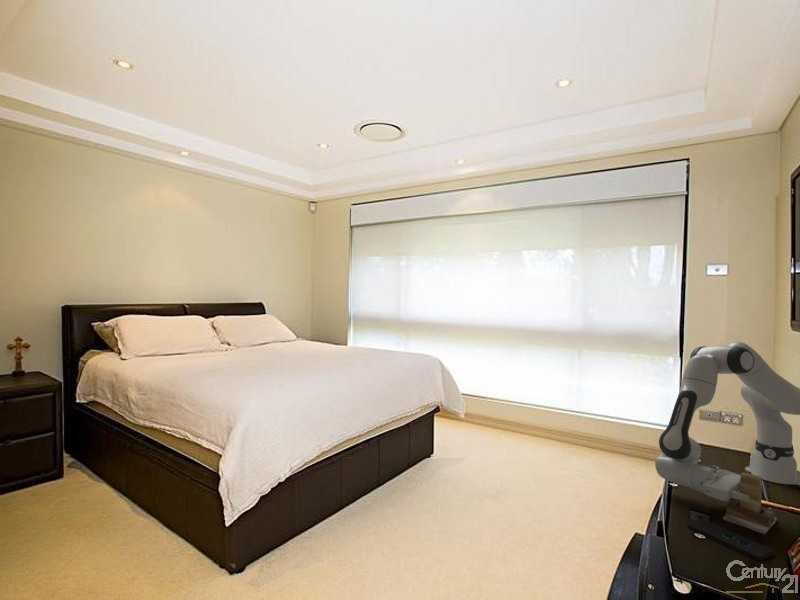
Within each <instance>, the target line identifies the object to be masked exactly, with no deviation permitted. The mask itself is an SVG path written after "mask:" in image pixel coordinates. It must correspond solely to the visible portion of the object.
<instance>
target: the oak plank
mask: <svg viewBox="0 0 800 600" xmlns="http://www.w3.org/2000/svg"><path fill="white" fill-rule="evenodd" d="M739 475H740V491H739V493H742V494H743V493H745V494H748V495H750V500H749V501H745V500H740V499H739V501H740V508H743V509H746V510H749V511H752V512H755V513H758V514H761V507H762V487H763V486H762V485H763V484H762V482H763V481H762V480H763V479H762V477H760V476H756V475H753V474H752V473H750V472H744V471H743V472H741V473H740V474H739Z"/></svg>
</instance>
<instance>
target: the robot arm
mask: <svg viewBox="0 0 800 600" xmlns="http://www.w3.org/2000/svg"><path fill="white" fill-rule="evenodd" d="M718 374H719V375H723V374H728V375H733V374H734V375H736V376H737V377H738V379H740V381H742V383H743V384H742V386H741V388H740V395H741V397H742V399H743V400H744V401H745V402H746V403H747V404H748V405H749V407H750V408H751V410H752V412H753V414H754V418H755V421H756V440H755V442H754V445H755V448H754V449H755V450H753V451H751V453H750V459H749V466H745V468H744V470H745V471H746V472H747V473H750V472H751V473H750V474H753V475H756V476H760V477H762V480H764V481H767V482H770V483H771V482H772V483H775V484H776V483H777V484H783V485H794V486H795V485H796V486H800V471H799V470H798V463H797V460H796V458H795V456H794V455H795V453H794V452H795V449H794V445H793V428H792V427H793V426H792V425H791V424H790V423H789V422H788V421H787V420H785V418H784V417H783V416H782V413H783V414H787V415H794V416H800V388H799V387H797V386H795V384H792V383H791V382H790V381H788V380H787V379H786V378H784V377H783V376H781V375H779V374H778V373H777V372H776V371H775V370H774V369H772V368H771V366H770V365H769V364H768V363H767V362H766V361H765V359H763V357H762V356H761V355H760V354H759V353H758V352H757V351H756V350H755V349H753V348H752V347H751V346H750V345H748V344H746V343H745V342H740V341H735V342H732V343H729V344H728V345H710V346H705V345H703V346H698V347H696V348H694V349H693V350H692V351H691V353H690V357H689V360H688V361H687V364H686V367H685V369H684V372H683V375H682V379H681V384H680V388H679V391H678V394H677V395H678V396H677V398H676V400H675V404H674V406H673V410H672V412H671V416H670V419H669V422H668V425H667V427H666V428H665V430H664V431H663V432H662V433H661V435H660V436H659V439H658V446H659V449H660V451H661V452H662V453H661V454H659V455H658V456H657V457H655V470H656V473H657V474H658V476H659V477H660V478H663V480H666V481H669V482H670V483H673V484H676V485H680V486H686V487H688V488H691V489H692V490H695V491H698V492H702V493H703V494H705V496H708V497H711V498H714V499H716V500H718V501H722V502H728V501H729V499H731V498H733V499H736V500H739V501H740V500H745V501H749V500H750V495H748V494H745V493H743V494H742V493H740V474H738V473H735V472H732V471H729V470H726V469H720V467H719V466H717V465H708V466H707V465H701V464H699V461H700V458H701V456H702V447H701V445H700V444H699V442H698V441H697V440H695V439H693V438H691V437H690V435H689V433H690V432H689V431H690V427H691V424H692V420H693V418H694V415H695V412H696V411H697V410H698V409H699V408H701V407H705V406H707V405H709V404H711V402H712V400H713V398H714V397H715V393H716V389H717V385H718V384H717V383H718V376H719V375H718ZM733 499H732V500H733Z"/></svg>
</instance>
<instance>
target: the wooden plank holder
mask: <svg viewBox="0 0 800 600" xmlns="http://www.w3.org/2000/svg"><path fill="white" fill-rule="evenodd" d="M775 515H776V514H775V511H773V510H771V509H768V508H764V507H762V506H761V514H758V513H755V512H752V511H749V510H746V509H743V508H740V499H732V500H730V502H728V503H727V504H726V513H725V514H724V515H723V516H722V520H724V521H726V522H729V523H732V524H736V525H737V526H741V527H743V528H747V529H749V530H752V531H755V532H756V533H759V534H763V535H766V533H767V532H768V531H770V529H771V528H772V527H773V526H774V524H775V523H776V522H777V521H778V517H775Z"/></svg>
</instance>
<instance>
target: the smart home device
mask: <svg viewBox="0 0 800 600" xmlns="http://www.w3.org/2000/svg"><path fill="white" fill-rule="evenodd" d="M687 529H690V530H691V531H694V532H695V533H698V534H700V535H702V536H704V537H707V538H709V539H711V540H713V541H715V542H717V543H719V544H722V545H724V546H726V547H728V548H730V549H732V550H734V551H736V552H738V551H739V552H738V553H740V554H743V555H745V554H746V555H745V556H747V555H748V556H747V557H749V556H751V557H754V558H756V559H759V560H762V559H764V558H766V557H768V556H770V555H771V556H773V555H774V550H773V549H772V548H770V547H768V546H765V545H763V544H761V543H758V542H757V541H754V540H751V539H749V538H747V537H744V536H742V535H740V534H738V533H735V532H734V531H731V530H728V529H726V528H724V527H721V526H720V525H717V524H715V523H713V522H710V521H708V520H705V519H703V518H698V519H695V520H693V521H691V522H688V523H687ZM772 554H773V555H772ZM771 556H770V557H771ZM751 557H750V558H751ZM754 558H753V559H754ZM768 558H769V557H768ZM756 559H755V560H756ZM766 559H767V558H766ZM764 560H765V559H764ZM762 561H763V560H762Z"/></svg>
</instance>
